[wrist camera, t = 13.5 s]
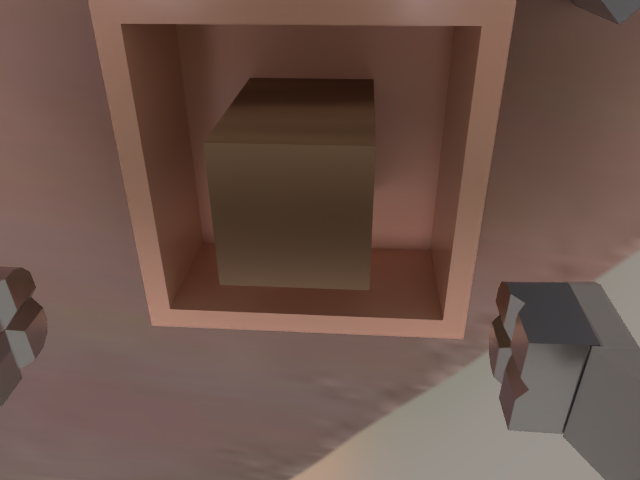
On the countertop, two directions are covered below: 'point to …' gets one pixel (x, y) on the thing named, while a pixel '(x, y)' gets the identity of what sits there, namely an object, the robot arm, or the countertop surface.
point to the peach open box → (390, 161)
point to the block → (294, 184)
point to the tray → (610, 8)
